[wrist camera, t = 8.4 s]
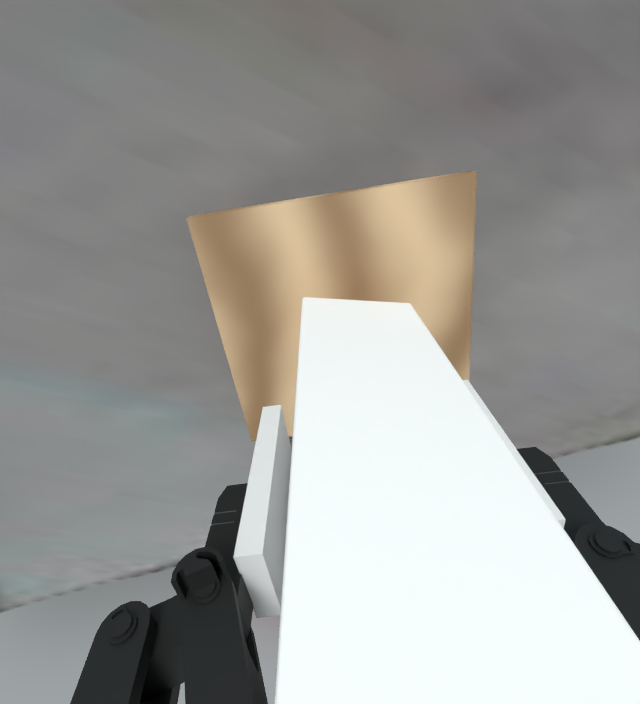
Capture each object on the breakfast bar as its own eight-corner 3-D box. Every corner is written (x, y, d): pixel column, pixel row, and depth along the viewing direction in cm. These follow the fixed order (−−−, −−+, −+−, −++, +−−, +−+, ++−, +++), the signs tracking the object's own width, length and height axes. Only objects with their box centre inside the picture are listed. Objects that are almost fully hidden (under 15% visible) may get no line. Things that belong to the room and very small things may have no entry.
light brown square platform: (260, 396, 34) (251, 441, 28) (211, 206, 26) (186, 218, 21) (442, 371, 33) (467, 413, 28) (442, 169, 26) (476, 171, 20)
